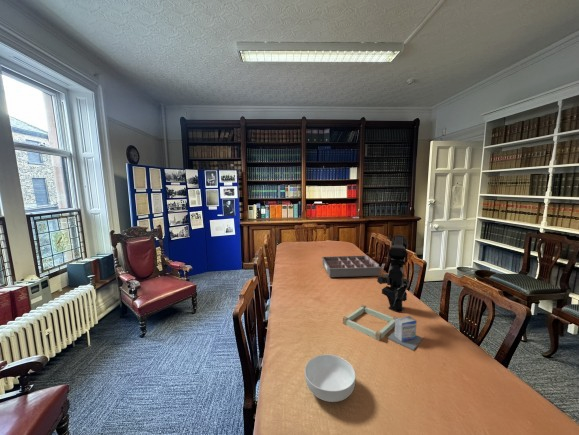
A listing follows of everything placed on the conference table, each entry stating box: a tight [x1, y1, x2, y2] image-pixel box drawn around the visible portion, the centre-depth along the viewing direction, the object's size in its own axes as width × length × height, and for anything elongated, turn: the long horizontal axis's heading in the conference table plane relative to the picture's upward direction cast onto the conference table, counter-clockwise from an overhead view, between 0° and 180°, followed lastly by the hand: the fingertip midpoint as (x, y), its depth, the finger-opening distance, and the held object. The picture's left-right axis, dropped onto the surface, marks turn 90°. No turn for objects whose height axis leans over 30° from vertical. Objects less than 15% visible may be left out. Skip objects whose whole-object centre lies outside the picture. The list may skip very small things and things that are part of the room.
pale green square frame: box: [342, 304, 399, 342], centre depth 119 cm, size 19×19×3 cm
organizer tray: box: [321, 253, 382, 278], centre depth 194 cm, size 32×40×10 cm
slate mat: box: [387, 330, 424, 351], centre depth 107 cm, size 11×11×1 cm
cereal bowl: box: [304, 353, 357, 403], centre depth 80 cm, size 17×17×7 cm
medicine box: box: [394, 315, 417, 342], centre depth 106 cm, size 8×4×9 cm, turn 106°
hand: (395, 303), depth 116 cm, fingers open, 9 cm apart
